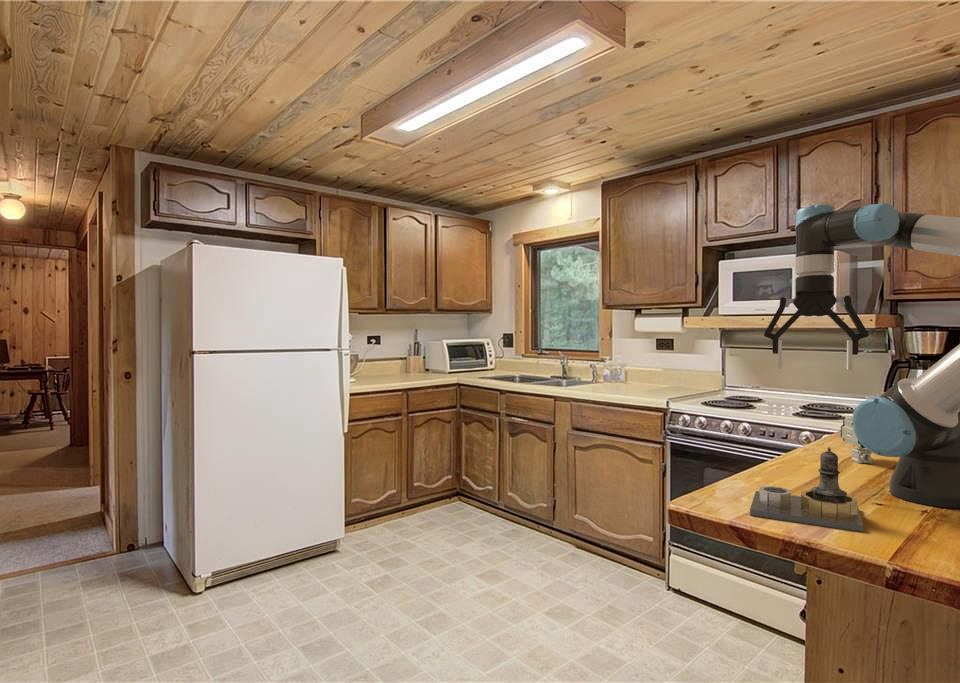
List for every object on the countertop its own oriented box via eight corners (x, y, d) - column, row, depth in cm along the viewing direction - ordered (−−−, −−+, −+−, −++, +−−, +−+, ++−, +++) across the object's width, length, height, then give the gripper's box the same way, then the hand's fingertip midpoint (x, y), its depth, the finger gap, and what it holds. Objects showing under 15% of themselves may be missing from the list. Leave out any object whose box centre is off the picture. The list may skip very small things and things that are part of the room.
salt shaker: (829, 516, 103) (830, 451, 103) (803, 506, 109) (804, 445, 109) (854, 513, 105) (855, 449, 105) (827, 503, 111) (828, 443, 110)
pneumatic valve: (857, 457, 155) (858, 414, 155) (884, 467, 143) (884, 421, 143) (836, 456, 155) (837, 413, 155) (861, 467, 144) (861, 420, 144)
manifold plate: (857, 509, 111) (857, 491, 111) (863, 532, 99) (863, 511, 98) (755, 496, 120) (755, 479, 120) (749, 515, 108) (750, 496, 108)
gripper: (878, 273, 124) (877, 369, 125) (753, 279, 136) (753, 366, 136) (884, 270, 118) (883, 371, 118) (752, 276, 129) (752, 368, 130)
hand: (813, 369), depth 127 cm, fingers open, 13 cm apart
